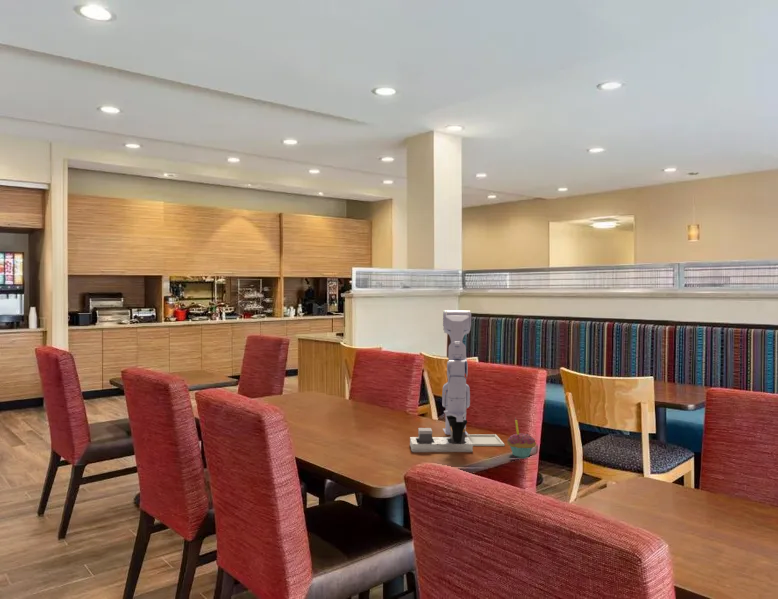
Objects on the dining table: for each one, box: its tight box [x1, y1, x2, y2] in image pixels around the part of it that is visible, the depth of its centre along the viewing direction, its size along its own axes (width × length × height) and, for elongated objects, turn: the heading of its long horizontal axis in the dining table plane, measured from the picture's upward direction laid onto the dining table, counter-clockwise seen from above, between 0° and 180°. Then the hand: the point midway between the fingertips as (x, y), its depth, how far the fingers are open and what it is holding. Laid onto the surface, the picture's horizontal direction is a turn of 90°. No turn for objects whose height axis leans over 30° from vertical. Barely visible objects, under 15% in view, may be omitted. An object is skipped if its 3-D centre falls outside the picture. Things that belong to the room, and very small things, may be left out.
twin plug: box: [417, 427, 433, 443], centre depth 195 cm, size 4×4×6 cm
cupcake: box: [506, 417, 536, 460], centre depth 188 cm, size 9×8×12 cm
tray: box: [465, 433, 505, 447], centre depth 205 cm, size 13×10×1 cm
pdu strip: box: [409, 436, 474, 453], centre depth 195 cm, size 9×19×3 cm, turn 92°
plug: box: [449, 426, 466, 443], centre depth 195 cm, size 4×4×6 cm
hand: (456, 439), depth 195 cm, fingers closed on plug, 4 cm apart
